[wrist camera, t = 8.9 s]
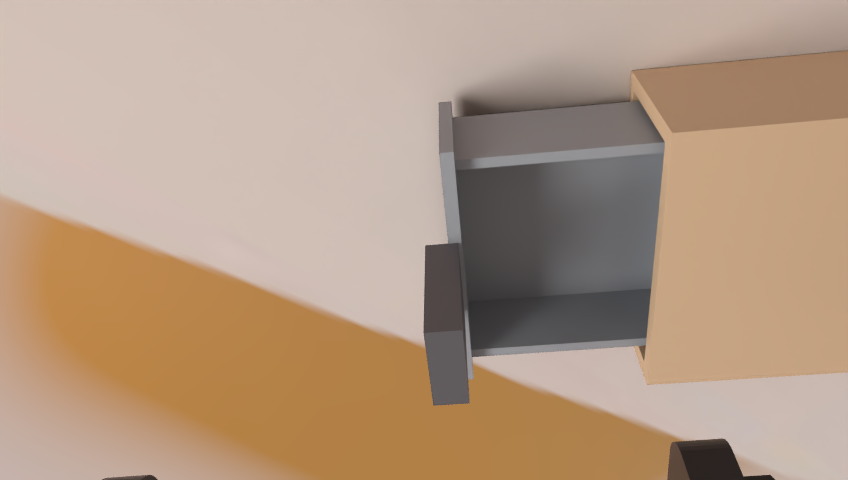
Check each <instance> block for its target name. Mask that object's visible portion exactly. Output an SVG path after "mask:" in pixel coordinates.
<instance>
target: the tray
mask: <svg viewBox="0 0 848 480" xmlns="http://www.w3.org/2000/svg"><path fill="white" fill-rule="evenodd" d="M664 150H665V141H664V140H663V138H662V136H661V135H660V133H659V132H658V130H657V128H656V127H655V125H654V123H653V122H652V120H651V119H650V117H649V115H648V114H647V112H646V110H645V109H644V107H643V106H642V104H641V102H640V101H632V102H621V103H610V104H599V105H588V106H577V107H565V108H554V109H543V110H532V111H521V112H510V113H498V114H487V115H476V116H465V117H454V118H453V117H452V106H451V102H440V103H439V155H440V165H441V175H442V185H443V195H444V205H445V215H446V225H447V235H448V244H439V245H426V246H425V292H424V339H425V346H426V354H427V361H428V369H429V376H430V383H431V391H432V398H433V405H447V404H448V405H449V404H464V403H465V404H466V403H469V386H468V379H473V362H472V357H479V356H494V355H509V354H524V353H539V352H554V351H569V350H584V349H599V348H614V347H629V346H644V345H646V338H647V328H648V317H649V307H650V297H651V286H652V276H653V265H654V255H655V244H656V234H657V223H658V213H659V202H660V192H661V181H662V171H663V160H664Z"/></svg>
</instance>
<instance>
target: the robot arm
mask: <svg viewBox="0 0 848 480" xmlns="http://www.w3.org/2000/svg"><path fill="white" fill-rule="evenodd" d="M669 457H670V458H669V468H668V480H775V479H774V478H773V477H772V476H771V475H762V476H746V477H743V475H742V472H741V470H740V467H739V465H738V463H737V460H736V458H735V455H734V453H733V451H732V449H731V447H730V445H729V443H728V442H727V441H726V440H725V439H711V440H696V441H681V442H672V444H671V447H670V456H669ZM103 480H157V479H156V478H155V477H154V476H152V475H145V476H144V475H143V476H129V477H113V478H105V479H103Z"/></svg>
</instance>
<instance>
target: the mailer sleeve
mask: <svg viewBox="0 0 848 480" xmlns="http://www.w3.org/2000/svg"><path fill="white" fill-rule="evenodd" d="M632 101H640V102H641V104H642V106H643V107H644V109H645V110H646V112H647V114H648V115H649V117H650V119H651V120H652V122H653V123H654V125H655V127H656V128H657V130H658V132H659V133H660V135H661V136H662V138H663V140H664V141H665V150H664V160H663V171H662V181H661V192H660V202H659V213H658V223H657V234H656V244H655V255H654V265H653V276H652V286H651V297H650V307H649V317H648V328H647V338H646V345H644V346H634V348H635V351H636V354H637V357H638V360H639V363H640V366H641V369H642V372H643V375H644V377H645V380H646V383H647V385H652V384H668V383H684V382H700V381H716V380H732V379H748V378H763V377H779V376H795V375H811V374H827V373H843V372H848V51H838V52H827V53H816V54H805V55H794V56H784V57H773V58H762V59H751V60H740V61H730V62H719V63H708V64H697V65H686V66H676V67H665V68H654V69H643V70H632V73H631V89H630V102H632Z"/></svg>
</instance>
